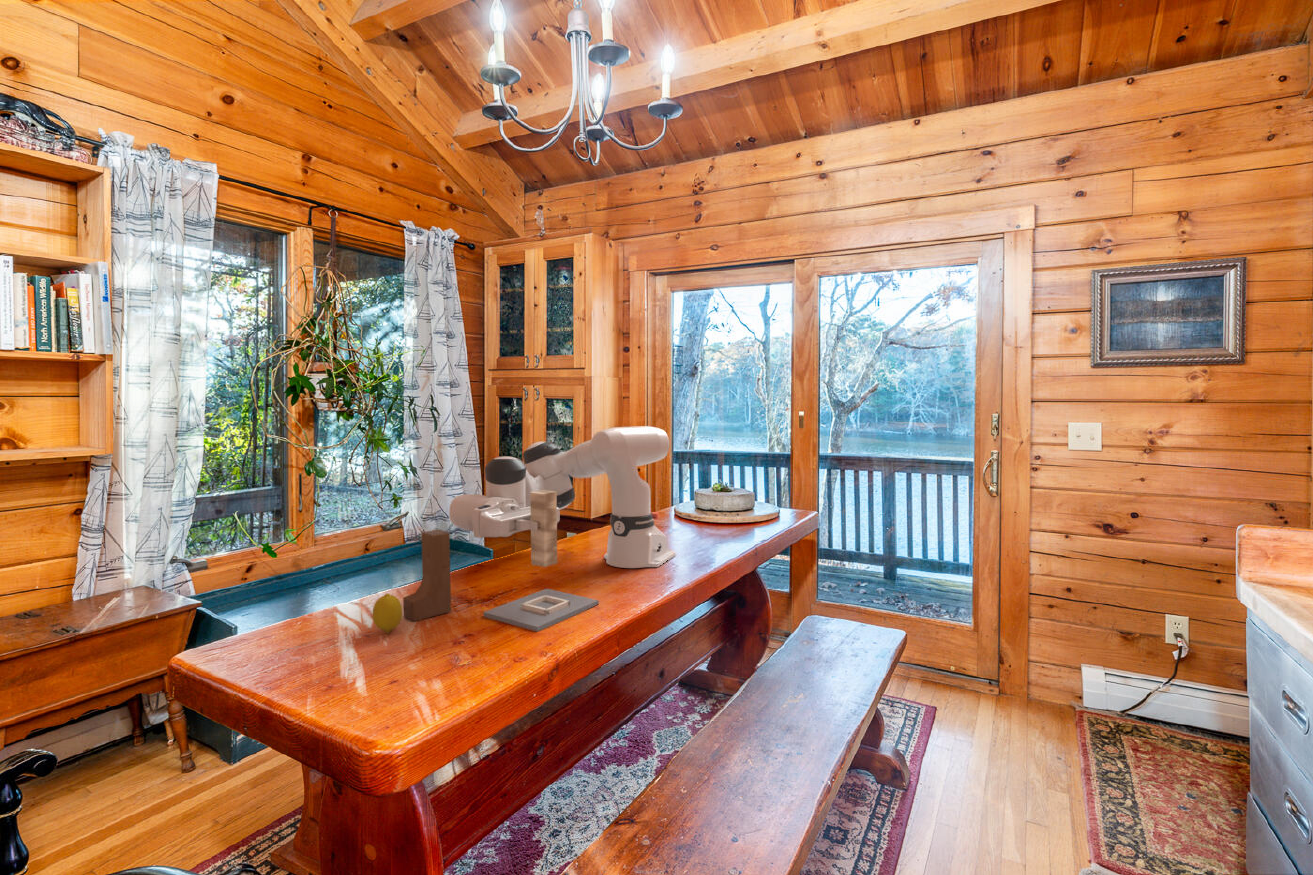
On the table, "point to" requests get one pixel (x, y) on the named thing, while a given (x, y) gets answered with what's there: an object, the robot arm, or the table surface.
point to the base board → (540, 609)
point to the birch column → (544, 528)
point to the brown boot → (431, 579)
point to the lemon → (387, 612)
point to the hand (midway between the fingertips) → (546, 523)
